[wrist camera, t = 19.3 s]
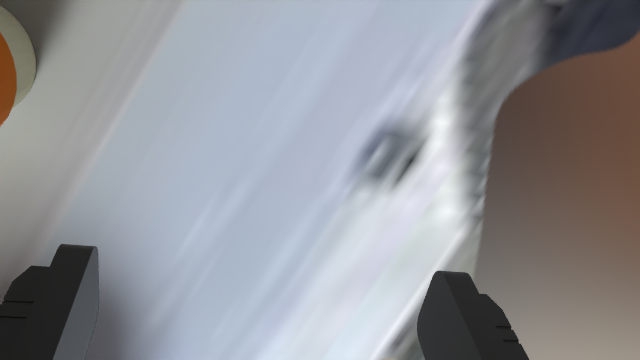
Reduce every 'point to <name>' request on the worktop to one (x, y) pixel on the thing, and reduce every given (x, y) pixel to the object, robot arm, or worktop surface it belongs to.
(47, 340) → the robot arm
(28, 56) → the reusable coffee cup
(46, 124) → the worktop surface
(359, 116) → the worktop surface
